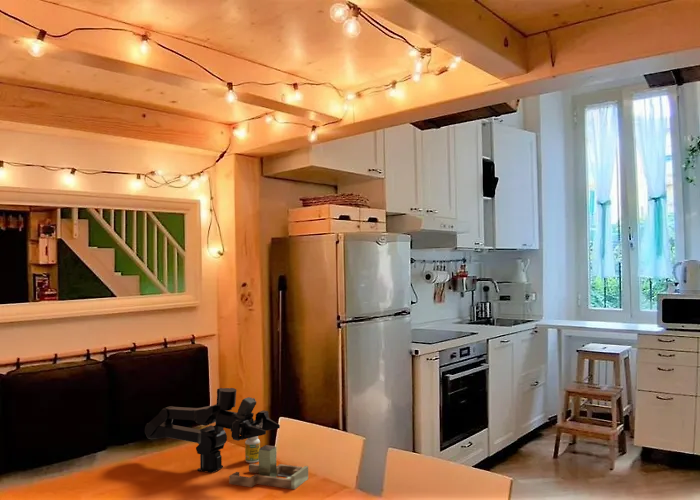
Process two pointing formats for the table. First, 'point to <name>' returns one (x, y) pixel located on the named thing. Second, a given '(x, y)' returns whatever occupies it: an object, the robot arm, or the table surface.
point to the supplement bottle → (252, 449)
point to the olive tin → (267, 461)
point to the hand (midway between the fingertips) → (272, 429)
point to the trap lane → (292, 473)
